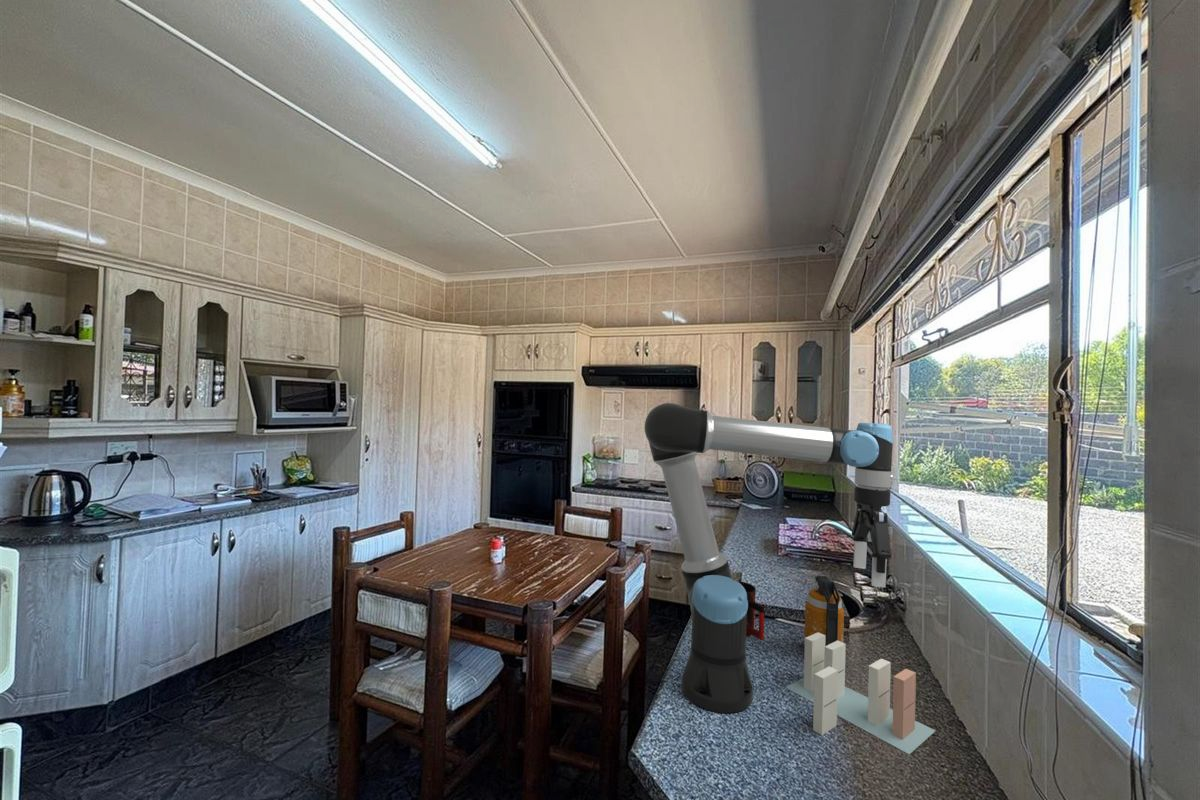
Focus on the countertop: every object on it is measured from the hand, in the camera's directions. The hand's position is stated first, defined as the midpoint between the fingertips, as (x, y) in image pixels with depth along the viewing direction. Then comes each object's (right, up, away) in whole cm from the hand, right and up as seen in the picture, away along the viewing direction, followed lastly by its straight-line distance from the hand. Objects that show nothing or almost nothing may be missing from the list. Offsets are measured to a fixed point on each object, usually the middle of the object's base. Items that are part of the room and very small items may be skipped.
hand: (868, 576), depth 114 cm
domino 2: (-13, -22, -10) cm, 28 cm away
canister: (-7, -24, +7) cm, 26 cm away
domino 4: (-8, -22, -18) cm, 29 cm away
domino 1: (-16, -22, -6) cm, 28 cm away
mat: (-10, -23, -14) cm, 29 cm away
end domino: (-5, -22, -21) cm, 31 cm away
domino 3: (-20, -22, -21) cm, 36 cm away
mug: (-23, -23, +21) cm, 39 cm away
